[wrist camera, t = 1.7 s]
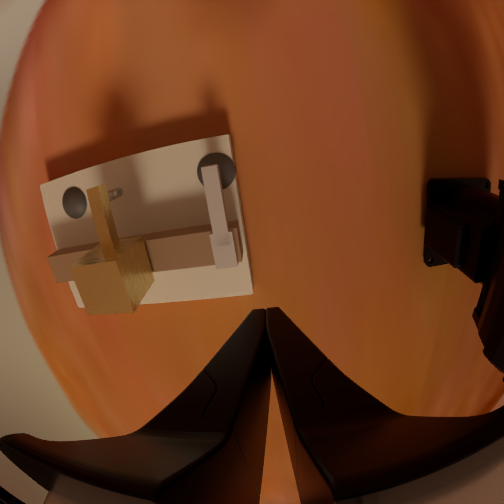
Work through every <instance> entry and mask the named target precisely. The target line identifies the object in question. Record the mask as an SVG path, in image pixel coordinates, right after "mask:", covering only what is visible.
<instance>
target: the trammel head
mask: <svg viewBox="0 0 504 504" xmlns="http://www.w3.org/2000/svg"><path fill="white" fill-rule="evenodd" d="M86 192H87V196H88V200H89V204H90V209H91V213H92V216H93V220H94V224H95V228H96V231H97V235H98V238H99V242H100V243H99V244H98V245H97V246H95V247H94V248H93V249H92V250H90V251H89V252H88V253H87V254H85V255H84V256H83V257H82V258H80V259H79V260H78V261H77V262H75V263H74V264H73V265H72V266H70V267H69V268H70V271H71V273H72V276H73V279H74V281H75V284H76V287H77V289H78V292H79V294H80V297H81V299H82V302H83V304H84V306H85V309H86V311H87V313H88V315H89V314H116V313H134V312H135V310H136V308H137V307H138V305H139V304H140V302H141V301H142V299H143V298H144V296H145V294H146V293H147V291H148V290H149V288H150V287H151V285H152V284H153V282H154V281H155V279H154V276H153V273H152V269H151V266H150V262H149V259H148V255H147V251H146V248H145V244H144V240H143V236H138V237H132V238H126V239H120V240H119V238H118V234H117V230H116V226H115V223H114V219H113V215H112V211H111V207H110V201H112V200H114V199H117V198H119V197H121V196H122V194H123V190H122V188H120V187H117V188H115V189H112V190H110V191H107V189H106V184H102V185H98V186H95V187H92V188H89V189H87V190H86Z"/></svg>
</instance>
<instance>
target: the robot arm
mask: <svg viewBox="0 0 504 504" xmlns="http://www.w3.org/2000/svg"><path fill="white" fill-rule="evenodd" d="M434 183H435V185H436V186H435V188H434V189H433V185H434ZM485 183H486V185H485ZM498 189H500V192H499V196H498V195H496V194H493V193H490V190H491V183H490V180H489V179H486V178H433V179H430V180H429V181H428V184H427V210H426V223H425V239H424V244H425V250H424V263H425V264H426V265H427V266H428V267H432V266H438V265H443V264H448V263H449V264H450V265H451V266H453V267H454V268H458V269H459V270H460V271H461V272H463V273H464V274H465V275H466V276H467V277H469V278H470V279H471V280H472V281H473V282H474V283H479V282H480V283H481V284H482V285H483V286H482V290H481V293H480V297H479V300H478V303H477V306H476V307H475V308H474V311H473V315H472V317H473V319H474V321H475V324H476V326H477V328H478V334H479V336H480V339H481V341H482V343H483V345H484V349H483V353H484V355H485V357H486V358H487V359H488V360H489V361H490V363H491V364H492V365H494V366H495V367H496V368H497V369H498V370H499V371H501V372H502V373H504V180H501V179H499V186H498ZM430 258H431V260H430V261H429V259H430ZM271 369H272V376H273V381H274V386H275V390H276V395H277V399H278V404H279V408H280V413H281V417H282V422H283V426H284V431H285V435H286V440H287V444H288V449H289V453H290V458H291V462H292V467H293V471H294V475H295V480H296V484H297V489H298V492H299V498H300V502H301V504H504V406H502V407H500V408H498V409H496V410H494V411H492V412H489V413H486V414H482V415H477V416H469V417H424V416H408V415H403V414H401V413H398V412H396V411H394V410H392V409H390V408H389V407H387V406H386V405H385V404H383V403H382V402H380V401H379V400H378V399H376V398H375V397H374V396H372V395H371V394H369V393H368V392H367V391H365V390H364V389H363V388H361V387H360V386H359V385H357V384H356V383H355V382H353V381H352V380H351V379H350V378H348V377H347V376H346V375H345V374H344V373H343V372H342V371H340V370H339V369H338V368H337V367H336V366H335V365H334V364H333V363H332V362H331V361H330V360H329V359H328V358H327V357H326V356H325V355H324V354H323V353H322V352H321V351H320V350H319V348H318V347H317V346H316V345H315V344H314V343H313V342H312V341H311V340H310V339H309V338H308V337H307V336H306V335H305V334H304V333H303V332H302V331H301V330H300V329H299V328H298V327H297V326H296V325H295V324H294V323H293V322H292V321H291V319H290V318H289V317H288V316H287V315H286V314H285V313H284V312H283V311H282V310H281V309H280V308H279V307H272V308H267V309H266V310H265V309H254V310H252V311H251V312H250V313H249V315H248V316H247V317H246V318H245V319H244V321H243V322H242V323H241V324H240V326H239V327H238V328H237V329H236V330H235V332H234V333H233V334H232V335H231V336H230V338H229V339H228V340H227V341H226V343H225V344H224V345H223V346H222V347H221V349H220V350H219V351H218V352H217V353H216V355H215V356H214V357H213V358H212V359H211V360H210V362H209V363H208V364H207V365H206V366H205V368H204V369H203V371H201V372H200V373H199V374H198V376H197V377H196V378H195V379H194V380H193V381H192V382H191V383H190V384H189V386H188V387H187V388H186V389H185V390H184V391H183V392H182V393H181V394H179V395H178V396H177V397H176V398H175V399H174V400H173V401H172V402H171V403H170V404H169V405H167V406H166V407H165V408H164V409H163V410H162V411H161V412H159V413H158V414H157V415H156V416H155V417H154V418H152V419H151V420H150V421H149V422H148V423H147V424H145V425H144V426H143V427H142V428H140V429H138V430H137V431H135V432H133V433H131V434H127V435H123V436H117V437H109V438H101V439H92V440H80V441H47V440H42V439H39V438H36V437H34V436H31V435H29V434H25V433H19V434H10V435H6V436H3V437H1V438H0V450H1V451H2V453H3V454H4V455H5V456H6V457H7V458H8V459H10V460H11V461H12V462H13V463H14V464H15V465H16V466H17V467H19V468H20V469H21V470H22V471H23V472H25V473H26V474H27V475H28V476H29V477H31V478H32V479H33V480H34V481H36V482H37V483H38V484H39V485H41V486H42V487H43V488H45V489H46V490H48V494H47V496H46V499H45V501H44V504H259V501H260V492H261V483H262V474H263V465H264V455H265V445H266V435H267V424H268V413H269V401H270V389H271ZM503 382H504V377H503ZM0 504H25V503H24V502H22V501H20V500H19V499H17V498H16V497H14V496H13V495H12V494H10V493H9V492H8V491H6V490H5V489H4V488H2V487H1V486H0Z"/></svg>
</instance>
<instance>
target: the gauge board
mask: <svg viewBox="0 0 504 504" xmlns="http://www.w3.org/2000/svg"><path fill="white" fill-rule="evenodd" d="M102 184H106V189H107V191H110V190H112V189H115V188H117V187H120V188H122V190H123V194H122V196H121V197H119V198H117V199H114V200H112V201H110V207H111V211H112V215H113V219H114V223H115V226H116V230H117V234H118V238H119V240H120V239H126V238H132V237H138V236H143V240H144V244H145V248H146V251H147V255H148V259H149V262H150V266H151V269H152V273H153V276H154V279H155V281H154V282H153V284H152V285H151V287H150V288H149V290H148V291H147V293H146V294H145V296H144V298H143V299H142V301H141V302H140V304H152V303H165V302H177V301H189V300H200V299H211V298H221V297H231V296H240V295H249V294H253V292H254V284H253V278H252V271H251V265H250V258H249V252H248V246H247V239H246V233H245V226H244V220H243V213H242V207H241V201H240V194H239V188H238V181H237V175H236V168H235V161H234V155H233V148H232V142H231V135H229V134H227V135H221V136H215V137H210V138H204V139H199V140H194V141H189V142H184V143H179V144H175V145H170V146H166V147H161V148H157V149H153V150H149V151H145V152H141V153H137V154H133V155H130V156H126V157H122V158H119V159H115V160H112V161H109V162H105V163H102V164H99V165H96V166H92V167H89V168H86V169H83V170H80V171H77V172H74V173H71V174H69V175H66V176H63V177H60V178H57V179H55V180H52V181H50V182H47V183H44V184H42V185H40V189H41V193H42V198H43V202H44V206H45V210H46V214H47V218H48V221H49V225H50V229H51V232H52V235H53V239H54V242H55V245H56V248H57V251H56V252H54V253H53V254H51V255H50V256H49V257H48V260H49V263H50V266H51V269H52V271H53V274H54V277H55V279H56V282H57V283H59V282H69V285H70V288H71V290H72V293H73V295H74V297H75V300H76V302H77V305H78V307H79V308H84V307H85V306H84V304H83V302H82V299H81V297H80V294H79V292H78V289H77V287H76V284H75V281H74V279H73V276H72V273H71V271H70V268H69V267H70V266H72V265H73V264H74V263H75V262H77V261H78V260H79V259H80V258H82V257H83V256H84V255H85V254H87V253H88V252H89V251H90V250H92V249H93V248H94V247H95V246H97V245H98V244H99V243H100V242H99V238H98V235H97V231H96V228H95V224H94V220H93V216H92V213H91V209H90V204H89V200H88V196H87V192H86V190H87V189H89V188H92V187H95V186H98V185H102Z"/></svg>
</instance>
